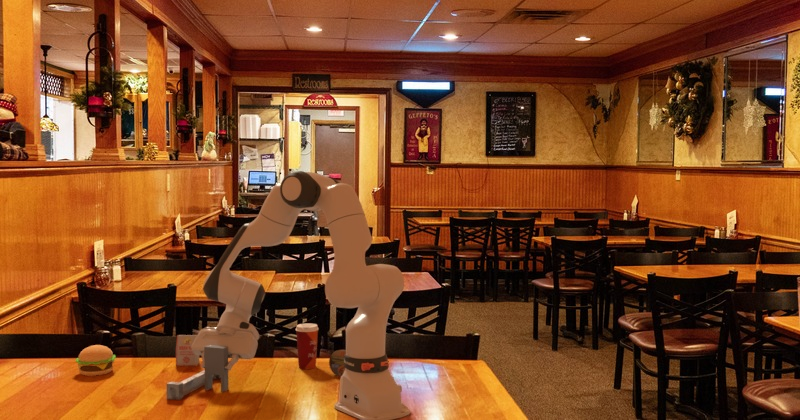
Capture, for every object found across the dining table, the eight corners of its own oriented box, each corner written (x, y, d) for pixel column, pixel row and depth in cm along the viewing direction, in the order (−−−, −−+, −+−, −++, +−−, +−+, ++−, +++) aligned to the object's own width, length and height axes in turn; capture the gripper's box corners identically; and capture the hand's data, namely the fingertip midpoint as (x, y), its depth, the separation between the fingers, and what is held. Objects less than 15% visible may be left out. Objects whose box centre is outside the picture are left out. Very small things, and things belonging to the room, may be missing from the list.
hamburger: (107, 377, 234) (106, 350, 233) (69, 377, 234) (68, 350, 233) (122, 367, 246) (121, 341, 245) (86, 367, 246) (85, 341, 245)
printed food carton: (179, 363, 251) (179, 333, 250) (199, 363, 251) (198, 334, 250) (175, 366, 247) (175, 336, 247) (196, 366, 247) (195, 336, 246)
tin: (328, 374, 238) (328, 348, 237) (333, 372, 241) (333, 346, 240) (369, 381, 231) (369, 354, 230) (374, 378, 234) (374, 352, 233)
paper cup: (317, 370, 243) (317, 328, 242) (293, 370, 243) (293, 327, 242) (320, 363, 250) (320, 322, 249) (297, 363, 251) (297, 322, 250)
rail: (211, 376, 236) (211, 362, 235) (222, 377, 235) (222, 363, 234) (166, 398, 213) (166, 383, 212) (179, 400, 212) (178, 384, 211)
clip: (228, 389, 222) (227, 346, 221) (223, 391, 219) (223, 348, 219) (209, 387, 224) (208, 344, 223) (204, 389, 221) (204, 346, 220)
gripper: (197, 321, 230) (180, 360, 221) (257, 325, 224) (241, 365, 215) (205, 332, 235) (188, 370, 226) (264, 336, 229) (249, 376, 220)
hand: (215, 368), depth 221 cm, fingers closed on clip, 6 cm apart
